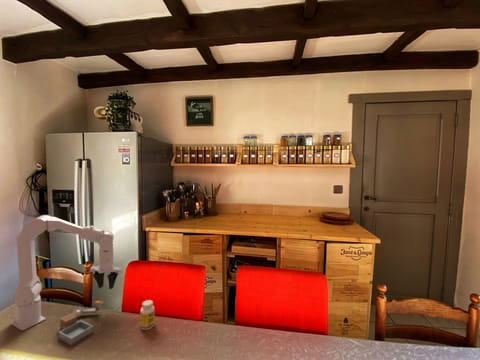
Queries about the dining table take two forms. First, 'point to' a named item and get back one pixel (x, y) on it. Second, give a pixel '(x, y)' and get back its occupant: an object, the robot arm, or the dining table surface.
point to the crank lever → (81, 311)
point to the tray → (75, 332)
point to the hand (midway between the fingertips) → (106, 287)
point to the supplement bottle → (147, 315)
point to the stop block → (67, 321)
